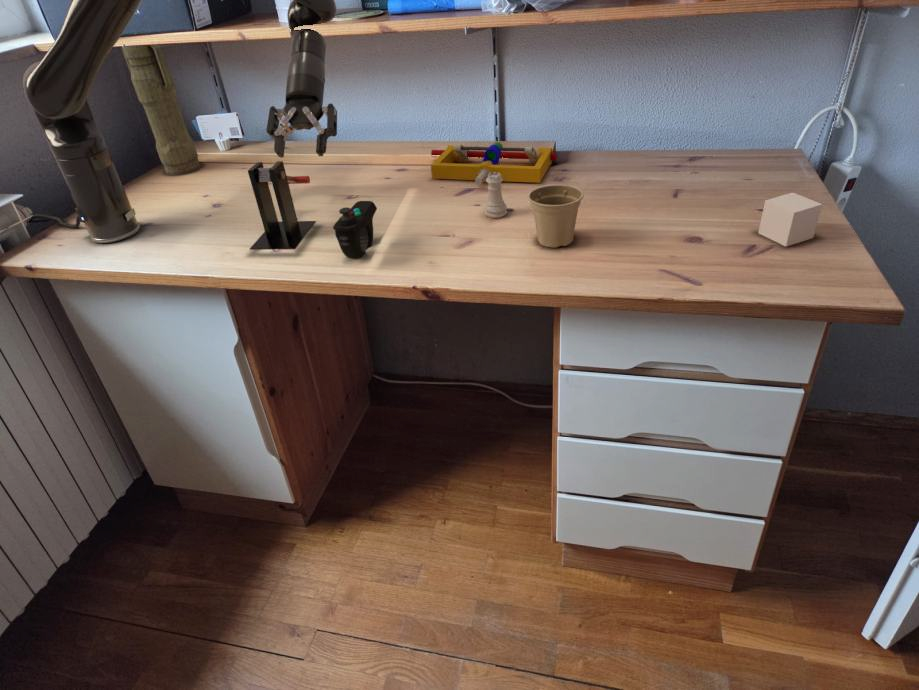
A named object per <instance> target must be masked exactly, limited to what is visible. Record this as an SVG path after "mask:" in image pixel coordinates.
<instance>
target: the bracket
mask: <svg viewBox="0 0 919 690" xmlns="http://www.w3.org/2000/svg"><path fill="white" fill-rule="evenodd" d="M263 163H264V162H263V161H257V162H256V163H255V164H253V166H251V167H250V168H248V170H247V173H248V176H249V180H250V185H251V188H252V191H253V194H254V198H255V201H256V205H257V209H258V213H259V215H260V219H261V223H262V226H263V229H264V232H262V234H261V235H260V236H259V238H257V239H256V241H255V242H254V243H253V244H252V245H251V247H249V251H250V250H251V251H253V250H254V251H255V250H261V251H262V250H296V249H297V248H298V246H299V245H300V243H301V242H302V241H303V239H304V238H305V237H306V236H307V234H308V233H309V232H310V230H311V229H312V228H313V226H314V225H315V224H316V222H317V220H298V216H297V212H296V208H295V205H294V201H293V200H294V199H293V195H292V193H291V188H290V184H288V180H287V176H288V175H287V173H286V168H285V165H284V161H283V160H280V161H279V160H278V161H276V163H274V164H273V165H272V166H271V167H269V168H270V169H269V173H270V177H271V181H272V183H271V184H272V189H273V192H274V195H275V196H274V197H275V199H276V200H275V201H276V203H277V207H278V211H279V214H280V218H281V221H279V219H278V216H277V215H278V214H277V211H276V208H275V204H274V200H273V197H272V193H271V190H270V185H269V183H263V182H259V171H258V168H265V167H264V164H263ZM286 175H287V176H286Z"/></svg>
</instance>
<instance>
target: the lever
mask: <svg viewBox="0 0 919 690" xmlns="http://www.w3.org/2000/svg"><path fill="white" fill-rule="evenodd" d="M270 168H271V167H264V168H258V171H259V182H263V183H268V184H272V181H271V177H270V173H269V169H270ZM286 176H287V180H288V184H289V185H298V184H299V185H300V184H302V185H303V184H310V183H311V178H310V176H309V175H298V176H297V175H295V176H294V175H293V176H292V175H287V174H286Z"/></svg>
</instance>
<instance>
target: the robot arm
mask: <svg viewBox="0 0 919 690" xmlns="http://www.w3.org/2000/svg"><path fill="white" fill-rule="evenodd" d="M142 3H143V0H70V2H69V5H68V7H67V10H66V14H65V16H64V20H63V23H62V25H61V29H60V31H59V33H58V35H57V37H56V38H55V40H54V42H53V43H52V45H51V46H50V48H48V50H47V52H46V53H45V55H44V56H43V58H42V59H41V60H40V61H36V62H34V63H32V64H31V65H30V66H29V67H28V68H27V69H26V70H25V72H24V74H23V78H22V86H23V92H24V95H25V99H26V100H27V102H28V104H29V105H30V106H31V108H32V111H33V112H34V115H35V116H36V117H35V118H36V119H37V121H38V124H39V125H40V127H41V129H42V132H43V134H44V137H45V140H46V142H47V144H48V146H49V149H50V151H51V153H52V155H53V157H54V158H55V160H56V164H57V166H58V169H60V172H61V175H62V176H63V179H64V181H65V182H66V185H67V187H68V189H69V191H70V196H71V199H72V201H73V202H74V205H75V206H76V207H75V208H74V211H75V213H76V215H77V216H76V219H75V224H70V223H68V222H64V220H63V219H62V218H61V217H57V216H53V215H49V214H41V213H36V214H32V215H33V217H32V218H31V219H30V220H29V222H28V223H31V222H32V220H34V219H38V218H39V219H46V220H52V221H57V222H58V223H59V224H60V225H61V226H64V227H65V228H69V229H78V228H79V227H80V225H81V223H83V224H84V226H85V229H86V231H87V232H88V234H89V237H90V238H91V241H93V242H94V243H98V244H108V243H115V242H120V241H123V240H125V239H128V238H131V237H132V236H134V235H136V234H137V233H138V232H139V231H140V230H141V225H140V223H139V221H138V220H137V217H136V215H137V213H136V210H135V208H134V207H132V204H131V202H130V199H129V198H128V195H127V192H126V190H125V188H124V185H123V182H122V180H121V178H120V175H119V173H118V171H117V169H116V165H115V164H114V161H113V158H112V157H111V153H110V152H109V149H108V147H107V144H106V141H105V139H104V136H103V134H102V132H101V129H100V127H99V125H98V123H97V120H96V118H95V116H94V113H93V110H92V108H91V105H90V103H89V101H88V95H89V93H90V90H91V88H92V86H93V84H94V82H95V78H96V77H97V74H98V72H99V70H100V68H101V66H102V64H103V62H104V60H105V59H106V57H107V55H108V54H109V53H110V52H111V50H112V49H113V48H114V46H115V45H116V43H118V41H119V40H120V39H119V38H120V36H121V35H122V33H123V32H124V30H125V29H126V27H127V26H128V24H129V23H130V21H131V20H132V18H133V17H135V15H136V13H137V12H138V10H139V8H140V7H141V5H142ZM336 14H337V5H336V1H335V0H291V2H290V3H289V6H288V10H287V23H288V29H289V28H290V29H291V32H290V31H289V34H290V39H291V48H290V58H289V63H288V67H287V78H286V86H285V104H284V106H283V107H282V108H276V107H275V106H274V105H272V106H270V108H269V111H268V117H267V124H266V133H267V134H268V136H270V138H271V139H273V140H274V146H273V152H274V153H275V154H276V155H277V157H278V158H280V159H281V158H284V157H285V149H286V148H285V147H286V141H285V140H286V139H287V138H288V137H289V136H290V135H292V134H293V133H294V132H295V130H296V131H302V130H307V131H308V130H309V131H311V130H312V129H313V128H314V129H315V130H316V132H318V134H317V135H316V144H315V145H316V146H315V152H316V154H317V156H318V157H324V154H326V152H327V143H328V139H329V138H330V137H333V138H334V137H336V136H337V135H338V110H337V108H336V107H335V105H334V104H333V103H331V102H330V103H328V104H327V106H324V94H325V84H326V67H325V65H326V53H327V43H326V40H325V37H324V36H323V34H321V33H320V32H319V31H317V30H316V31H314V30H311V29H301V30H294V28H295V27H298V26H303V25H313V24H321V23H327V22H328V23H330V22H332V21H333V20H334V18H336V16H337V15H336ZM328 23H327V24H328ZM290 29H289V30H290ZM319 33H320V34H319ZM324 115H325V116H326V127H325V128H323V126H322V125H321V124H320V122H319V121H320V120H321V118H323V116H324ZM283 116H284V117H283ZM282 118H283V119H282Z"/></svg>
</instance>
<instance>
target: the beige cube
mask: <svg viewBox="0 0 919 690" xmlns="http://www.w3.org/2000/svg"><path fill="white" fill-rule="evenodd" d="M822 208H823V203H821V202H817V201H815V200H813V199H810V198H808V197H806V196H803V195H801V194H797V193H796V192H790V193H785V194H782V195H778V196H776V197H772V198H769V199H766V200H764V206H763V208H762V209H763V210H762V214H761V219H760V224H759V228H758V232H757V233H758V235H761V236H763V237H765V238H767V239H769V240H771V241H774V242H775V243H778V244H780V245H781V246H784V247H785V248H786V247H790V246H792V245H795V244H799V243H802V242H805V241H808V240H812V239H814V236H815V233H816V229H817V227H818V222H819V218H820V216H821V215H820V214H821V212H822Z"/></svg>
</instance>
